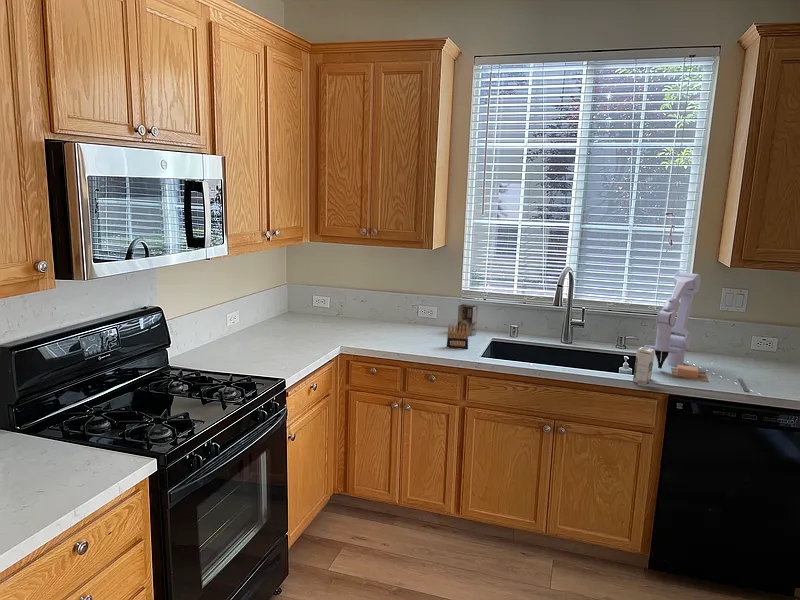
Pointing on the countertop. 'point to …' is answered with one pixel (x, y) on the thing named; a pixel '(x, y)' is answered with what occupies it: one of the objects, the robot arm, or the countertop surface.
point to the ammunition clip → (457, 337)
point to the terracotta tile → (687, 371)
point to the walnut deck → (701, 377)
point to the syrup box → (643, 365)
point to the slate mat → (743, 385)
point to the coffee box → (467, 318)
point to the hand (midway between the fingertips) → (659, 367)
